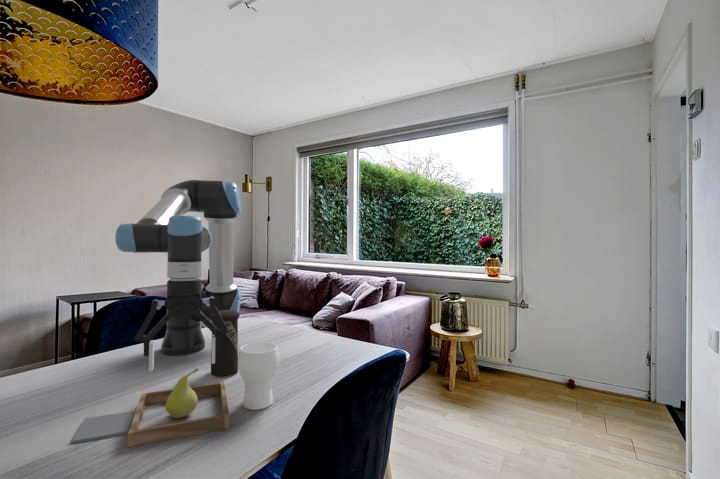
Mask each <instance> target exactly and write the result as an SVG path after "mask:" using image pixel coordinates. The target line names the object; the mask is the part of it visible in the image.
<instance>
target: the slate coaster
mask: <svg viewBox="0 0 720 479" xmlns="http://www.w3.org/2000/svg"><path fill="white" fill-rule="evenodd" d="M135 412H136V410H130V411H123V412H117V413H112V414H105V415H99V416H92V417H91V416H90V417H86V418H85V419H84V421H83V422H82V423H81V425H80V427H79V429H77V432H76V433H75V435H74V437H73V438H72V440H71V444H73V443H74V444H78V443H85V442H89V440H90V441H95V439H96V440H100V438H101V439H107V438H112V437H117V435H118V436H122V435H123V434H124V435H128V432H129V429H130V426H131V423H132V421H133V418H134V415H135ZM111 436H112V437H111ZM106 437H107V438H106ZM84 441H85V442H84Z"/></svg>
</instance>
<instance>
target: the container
mask: <svg viewBox="0 0 720 479" xmlns="http://www.w3.org/2000/svg"><path fill="white" fill-rule="evenodd" d="M218 312H219V313H220V315H221V317H222V319H223V321H224V323H225V325H226V326H227V329H228V332H227V333H224V334H222V335H221V336H220V348H219V349H215V363H214V364H212V346H211V347H210V348H211V350H210V351H211V353H210V376H212V377H215V378H216V377H217V378H226V377H230V376H234V375H236V374H237V373H238V372H239V369H238V356H239V339H238V338H239V336H238V335H239V333H238V332H239V330H238V329H239V328H238V326H239V324H238V323H239V322H238V320H239V318H240V315H241V314H240V311H239V312H237V311H235V310H221V311H218ZM210 318H211V320H212V321H211V322H212V323H213V324H214V325H215V326H216V327H217V328H218V329H221V327H220V325H219V324H218V322H217V320H216V318H215V316H214V314H213V313H212V314H211V315H210ZM212 335H214V334H213V333H212V332H211V336H212Z"/></svg>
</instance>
